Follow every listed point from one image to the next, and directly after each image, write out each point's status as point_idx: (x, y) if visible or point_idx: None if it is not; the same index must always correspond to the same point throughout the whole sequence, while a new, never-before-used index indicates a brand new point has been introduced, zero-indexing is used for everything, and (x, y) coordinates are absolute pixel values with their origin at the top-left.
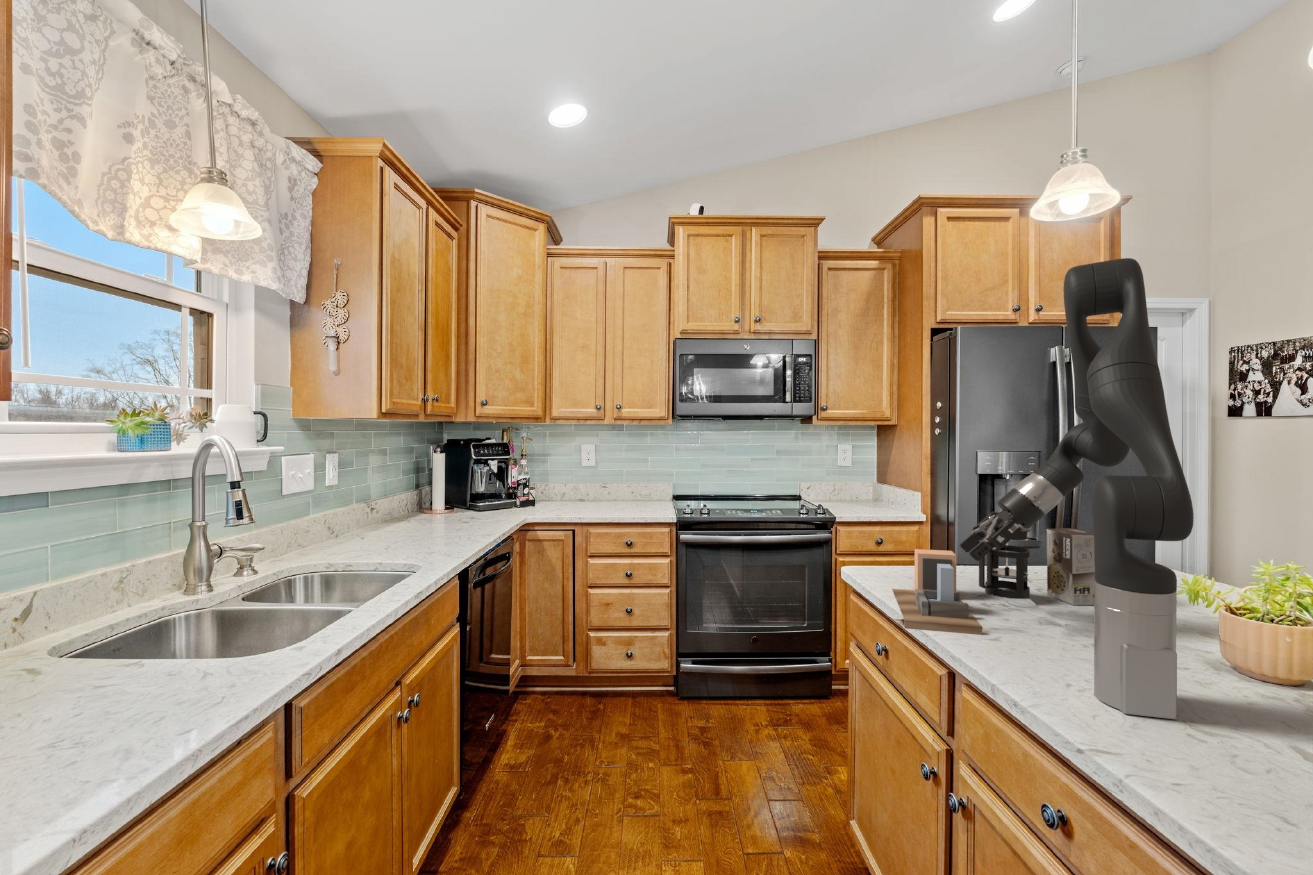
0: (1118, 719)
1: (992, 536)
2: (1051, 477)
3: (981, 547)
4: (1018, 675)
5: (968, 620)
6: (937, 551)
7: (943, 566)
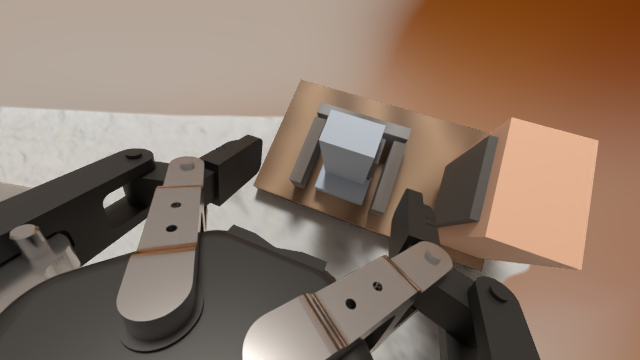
0: (10, 176)
1: (124, 162)
2: None
3: (207, 153)
4: (122, 145)
5: (287, 181)
6: (558, 203)
7: (347, 125)
